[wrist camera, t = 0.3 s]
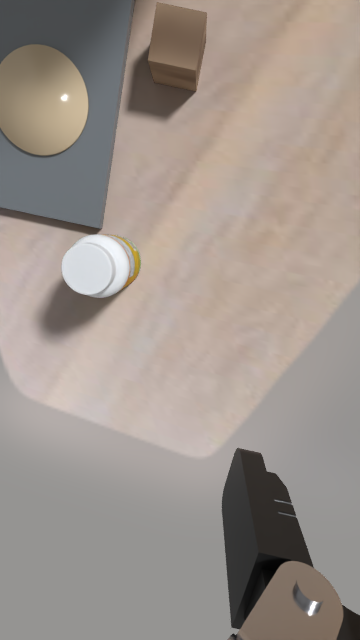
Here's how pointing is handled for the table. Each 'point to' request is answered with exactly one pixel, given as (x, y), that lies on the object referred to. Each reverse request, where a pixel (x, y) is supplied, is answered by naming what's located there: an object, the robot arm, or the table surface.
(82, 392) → the table surface
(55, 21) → the slate board
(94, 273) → the supplement bottle
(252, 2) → the table surface
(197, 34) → the walnut block
